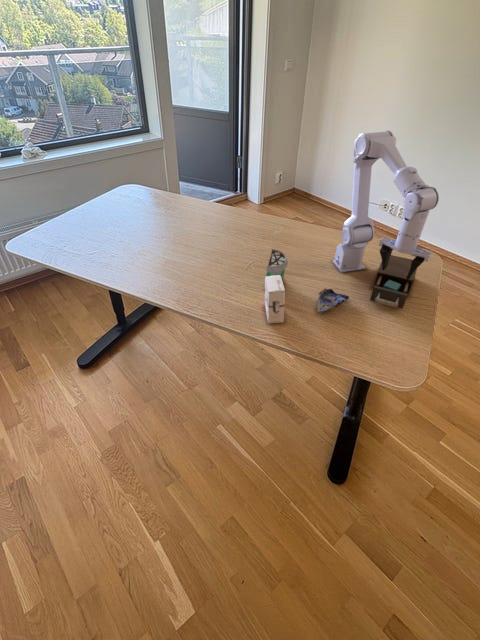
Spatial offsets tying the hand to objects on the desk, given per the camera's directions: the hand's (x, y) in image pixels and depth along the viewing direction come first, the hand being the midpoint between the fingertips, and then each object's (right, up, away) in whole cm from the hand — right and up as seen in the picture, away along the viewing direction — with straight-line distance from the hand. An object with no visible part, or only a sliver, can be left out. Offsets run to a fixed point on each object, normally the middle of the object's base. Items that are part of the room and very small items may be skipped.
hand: (396, 273), depth 106 cm
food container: (-35, -2, +14) cm, 38 cm away
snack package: (-19, -9, +5) cm, 22 cm away
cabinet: (+5, -2, +13) cm, 14 cm away
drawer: (0, -7, +6) cm, 9 cm away
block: (0, -6, +5) cm, 8 cm away
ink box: (-38, -13, +1) cm, 40 cm away
